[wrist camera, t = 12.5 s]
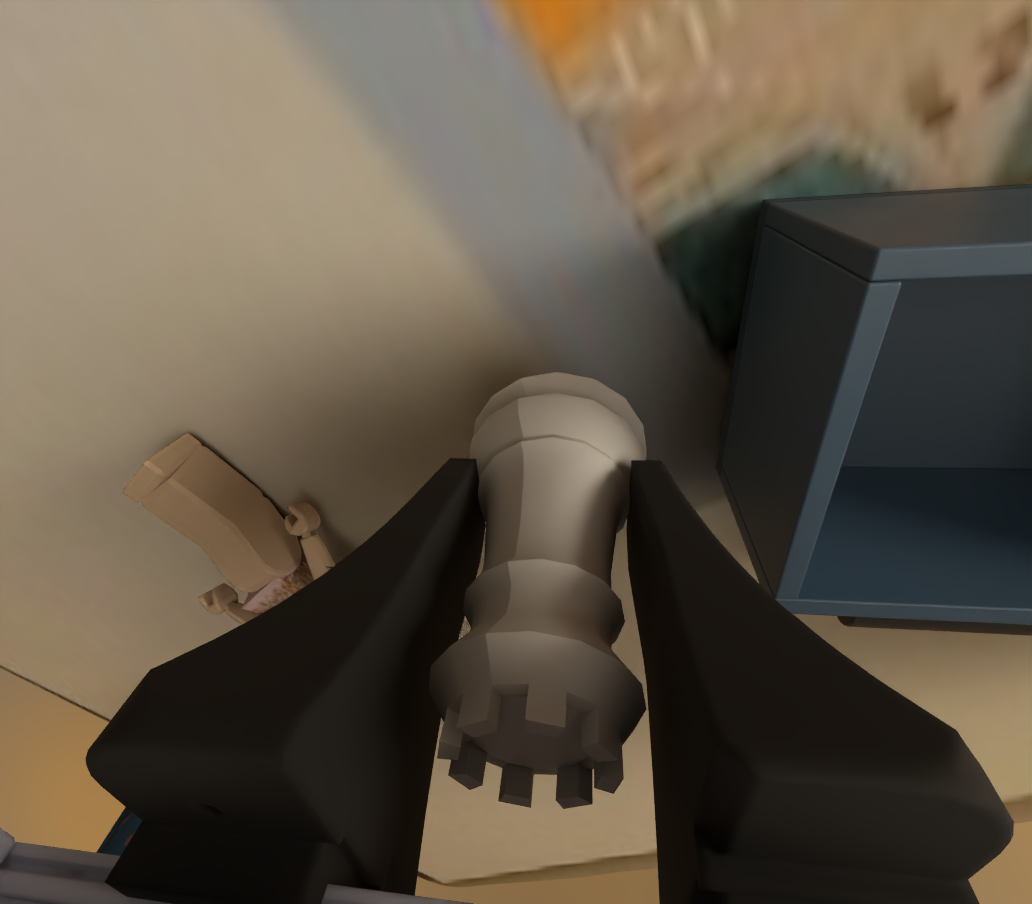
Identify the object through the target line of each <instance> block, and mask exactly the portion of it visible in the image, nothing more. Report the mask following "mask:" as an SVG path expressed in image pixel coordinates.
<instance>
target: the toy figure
mask: <svg viewBox="0 0 1032 904" xmlns="http://www.w3.org/2000/svg"><path fill="white" fill-rule="evenodd" d="M122 493H123V494H125V495H126V496H128V497H129V498H131V499H132V500H133V501H135V502H138V503H142V506H143V507H144V508H145V509H147V510H148V511H150V512H151V513H153V514H154V515H156V516H157V517H158V518H160V519H161V520H163V521H164V522H166V523H167V524H169V525H170V526H172V527H173V528H174V529H176V530H177V531H179V532H180V533H182V534H183V535H185V536H186V537H188V538H189V539H190V540H192V541H193V542H195V543H196V544H198V545H199V546H201V547H202V549H203V550H204V551H205V552H206V554H207V555H208V556H209V557H210V559H211V560H212V561H213V563H214V564H215V565H216V566H217V568H218V569H219V570H220V571H221V573H222V574H223V575H224V577H225V578H226V579H227V580H228V581H229V582H230V583H231V584H232V585H233V586H234V587H235V588H237V589H239V590H241V591H244V592H249V594H248V596H247V598H246V600H245V602H244V604H242V603H238V595H237V593H236V592H235V591H234V590H233V588H232V587H230V586H229V585H227V584H225V583H223V584H221V585H219V586H217V587H215V588H213V589H212V590H210V591H208V592H206V593H204V594H202V595H201V596H199V597H198V599H199V601H200V603H201V604H202V606H203V607H204V608H205V609H206V610H207V611H209V612H210V613H212V614H217V615H219V614H221V613H222V612H224V611H227V614H228V615H229V616H230V617H232V618H233V619H234V620H236V621H237V622H238V623H240V624H241V625H242V624H244V623H246V622H248V621H249V620H251V619H253V618H255V617H257V616H258V615H260V614H262V611H263V612H265V611H267V610H269V609H270V608H272V607H274V606H275V605H277V604H279V603H280V602H282V601H284V600H285V599H287V598H288V597H290V596H291V595H293V594H294V593H296V592H297V591H299V590H300V589H302V588H303V587H305V586H306V585H308V584H309V583H311V582H313V581H314V580H316V579H317V578H319V577H320V576H322V575H323V574H324V573H326V572H327V571H329V570H330V569H331V568H333V567H334V566H335V565H336V564H335V563H334V561H333V559H332V557H331V555H330V554H329V552H328V550H327V548H326V546H325V545H324V543H323V541H322V539H321V537H320V536H319V535H318V534H315V532H314V531H313V530H316V529H317V528H318V527H319V526H320V522H321V520H320V517H319V514H318V513H317V511H316V510H315V509H314V508H313V507H312V506H310V505H309V504H308V503H304V502H301V503H297V504H294V505H291V506H289V507H288V510H289V511H290V512H291V513H292V514H291V515H288V516H286V517H285V520H284V519H283V518H282V516H281V515H280V514H279V512H278V511H277V509H276V508H275V507H274V505H273V504H272V503H271V501H270V500H269V499H268V498H266V497H263V494H262V492H261V491H260V490H259V489H258V488H257V487H255V486H254V485H253V484H252V483H250V482H249V481H248V480H247V479H245V478H244V477H243V476H242V475H240V474H239V473H238V472H237V471H236V470H234V469H233V468H232V467H231V466H229V465H228V464H227V463H226V462H224V461H223V460H222V459H221V458H219V457H218V456H217V455H216V454H214V453H213V452H212V451H211V450H209V449H208V448H207V447H204V446H202V445H201V443H200V442H199V441H198V440H197V439H195V438H194V437H193V436H191V435H190V434H189V433H186V434H184V435H183V436H182V437H180V438H179V439H177V440H176V441H174V442H173V443H171V444H170V445H168V446H167V447H166V448H164V449H163V450H161V451H160V452H158V453H157V454H155V455H154V456H152V457H151V458H150V459H148V460H147V461H146V462H145V463H144V464H143V465H142V466H141V467H140V469H139V470H138V471H137V473H136V474H135V475H134V476H133V478H132V479H131V480H130V482H129V483H128V484H127V486H126V487H125V488H124V489H123V491H122ZM296 536H302V538H303V539H302V540H300V542H301V545H302V548H303V551H304V554H305V557H306V560H307V563H308V566H309V567H308V566H306V565H304V564H302V563H300V561H301V559H302V550H301V546H300V543H299V540H298V539H297V537H296Z"/></svg>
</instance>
